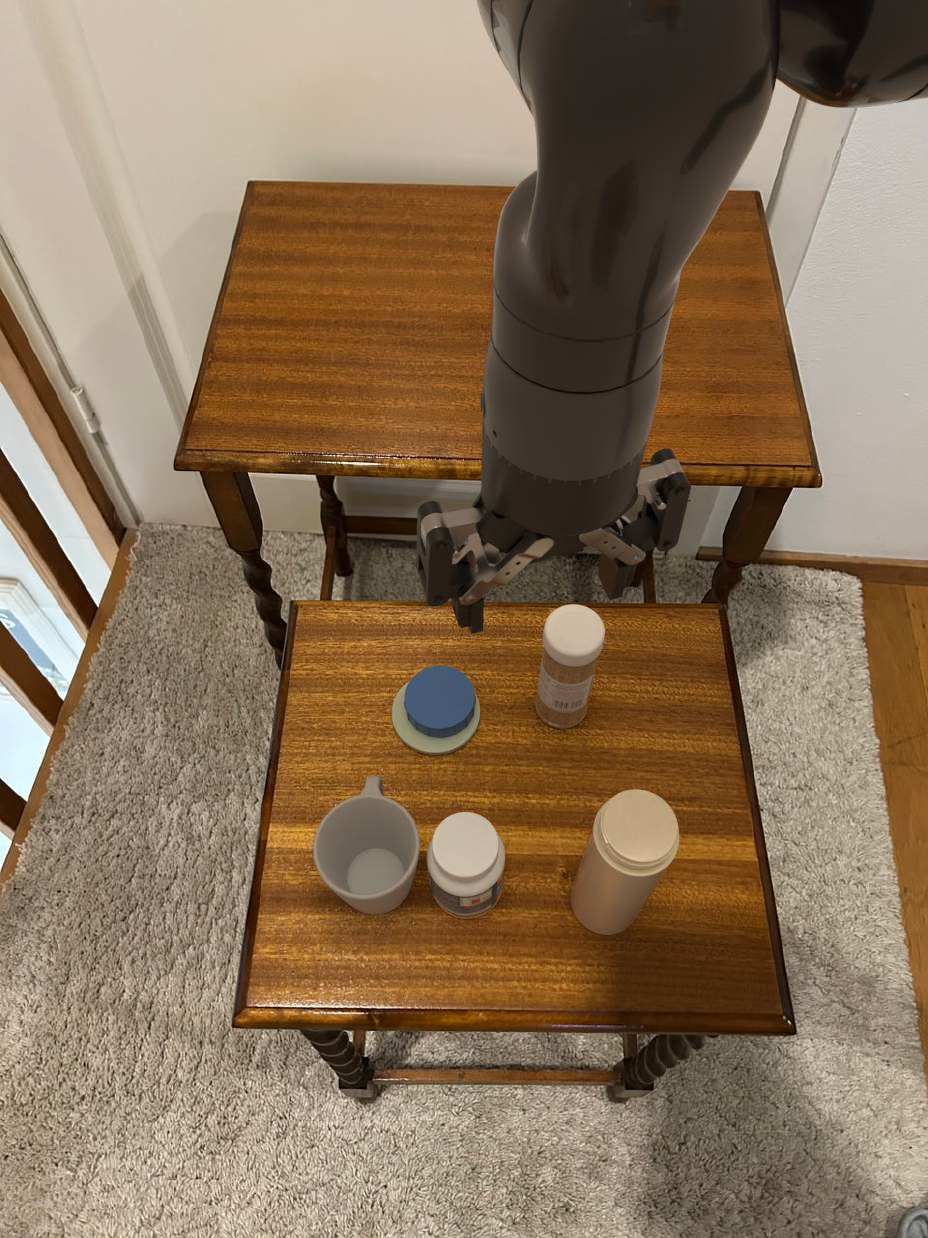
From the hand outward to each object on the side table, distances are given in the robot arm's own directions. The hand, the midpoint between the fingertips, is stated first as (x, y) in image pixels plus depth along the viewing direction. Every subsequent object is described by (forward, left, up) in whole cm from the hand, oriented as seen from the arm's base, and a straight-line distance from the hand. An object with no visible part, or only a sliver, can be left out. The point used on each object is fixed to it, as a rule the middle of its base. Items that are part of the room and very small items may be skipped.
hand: (541, 603), depth 55 cm
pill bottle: (+1, +10, -27) cm, 28 cm away
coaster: (+8, -3, -26) cm, 28 cm away
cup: (+9, +11, -27) cm, 30 cm away
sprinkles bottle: (-2, -7, -27) cm, 27 cm away
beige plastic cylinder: (-9, +8, -26) cm, 29 cm away
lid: (+8, -3, -24) cm, 26 cm away
